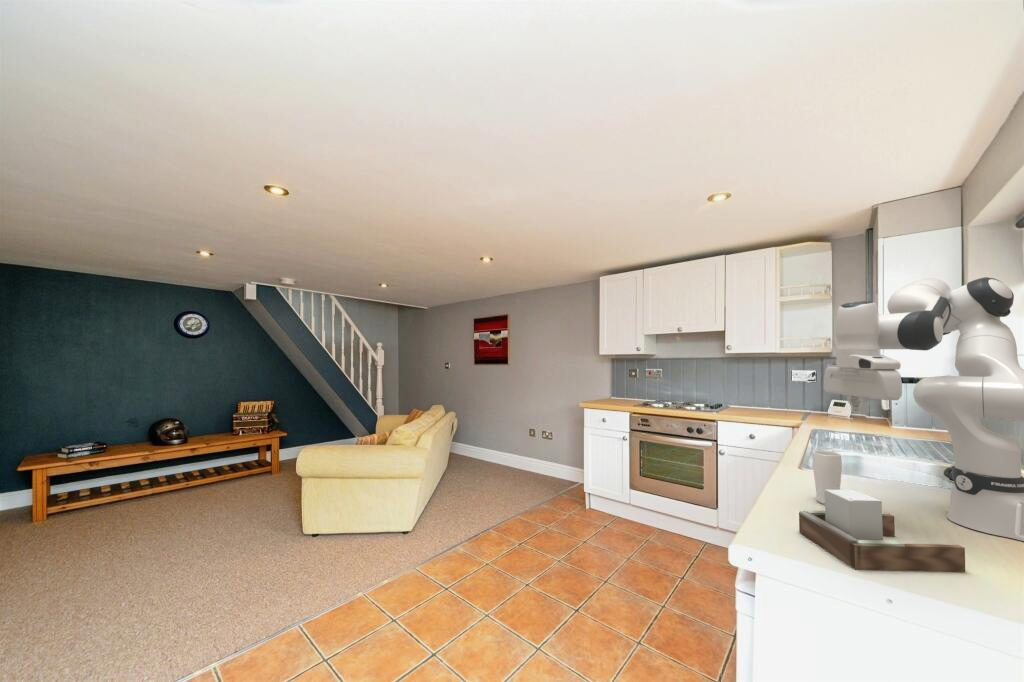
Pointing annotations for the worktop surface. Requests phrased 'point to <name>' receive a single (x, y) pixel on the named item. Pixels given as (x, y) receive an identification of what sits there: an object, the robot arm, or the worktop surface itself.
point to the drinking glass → (826, 472)
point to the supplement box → (854, 514)
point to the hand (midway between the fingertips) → (859, 413)
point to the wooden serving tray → (880, 548)
